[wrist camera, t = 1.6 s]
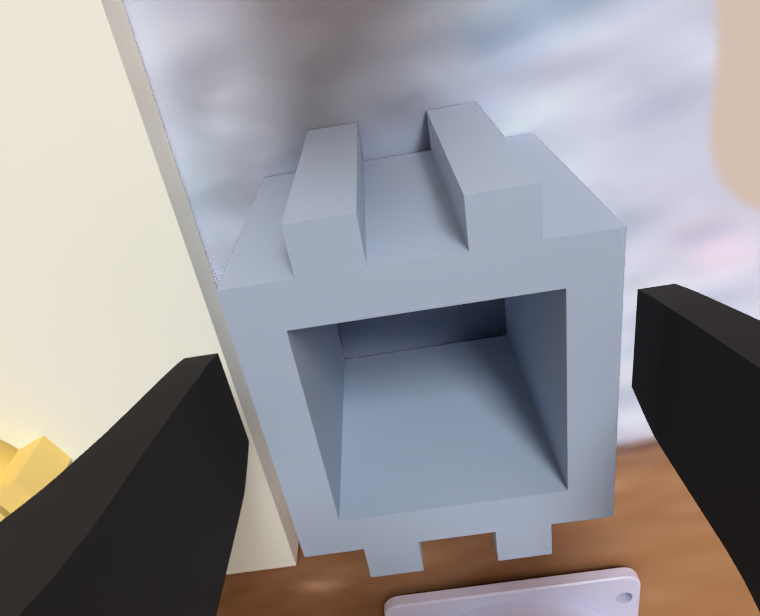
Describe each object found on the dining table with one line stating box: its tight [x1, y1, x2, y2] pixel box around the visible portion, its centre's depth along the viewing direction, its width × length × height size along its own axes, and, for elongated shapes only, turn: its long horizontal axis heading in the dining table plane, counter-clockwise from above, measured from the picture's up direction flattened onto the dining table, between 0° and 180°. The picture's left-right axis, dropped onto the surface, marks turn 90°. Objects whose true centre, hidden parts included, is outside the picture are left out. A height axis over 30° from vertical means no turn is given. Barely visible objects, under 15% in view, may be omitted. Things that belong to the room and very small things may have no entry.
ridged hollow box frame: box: [216, 102, 626, 577], centre depth 12 cm, size 7×6×5 cm
